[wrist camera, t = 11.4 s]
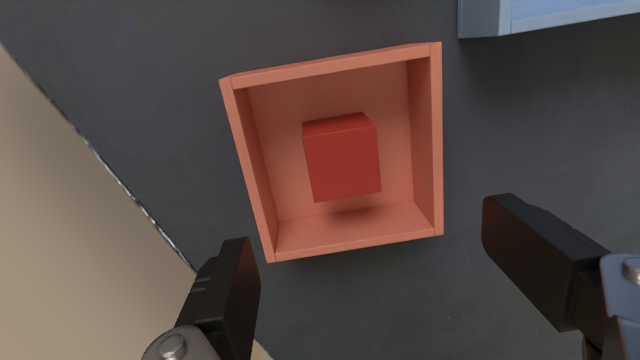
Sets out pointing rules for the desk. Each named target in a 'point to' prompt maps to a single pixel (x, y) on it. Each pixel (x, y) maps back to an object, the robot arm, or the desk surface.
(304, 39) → the desk surface
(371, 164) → the red block
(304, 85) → the red bin
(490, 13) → the blue bin
